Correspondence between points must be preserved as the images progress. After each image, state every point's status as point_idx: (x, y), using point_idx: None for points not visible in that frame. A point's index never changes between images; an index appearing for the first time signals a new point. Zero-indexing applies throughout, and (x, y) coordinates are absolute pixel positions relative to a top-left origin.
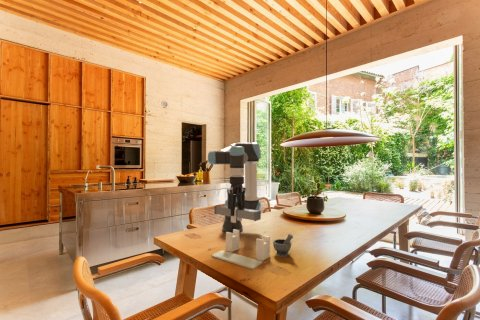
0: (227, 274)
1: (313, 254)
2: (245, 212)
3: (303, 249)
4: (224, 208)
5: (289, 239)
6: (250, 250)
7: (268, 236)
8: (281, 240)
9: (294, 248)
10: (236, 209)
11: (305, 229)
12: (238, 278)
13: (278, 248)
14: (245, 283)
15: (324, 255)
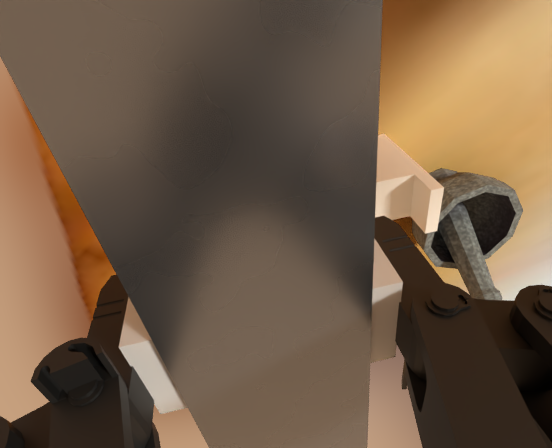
0: (57, 182)
1: (495, 266)
2: None
3: (539, 216)
4: (37, 96)
5: (467, 288)
6: (401, 27)
7: (435, 223)
8: (508, 202)
9: (538, 185)
10: (194, 417)
11: None
12: (86, 237)
13: (416, 226)
14: (88, 277)
15: (500, 290)
